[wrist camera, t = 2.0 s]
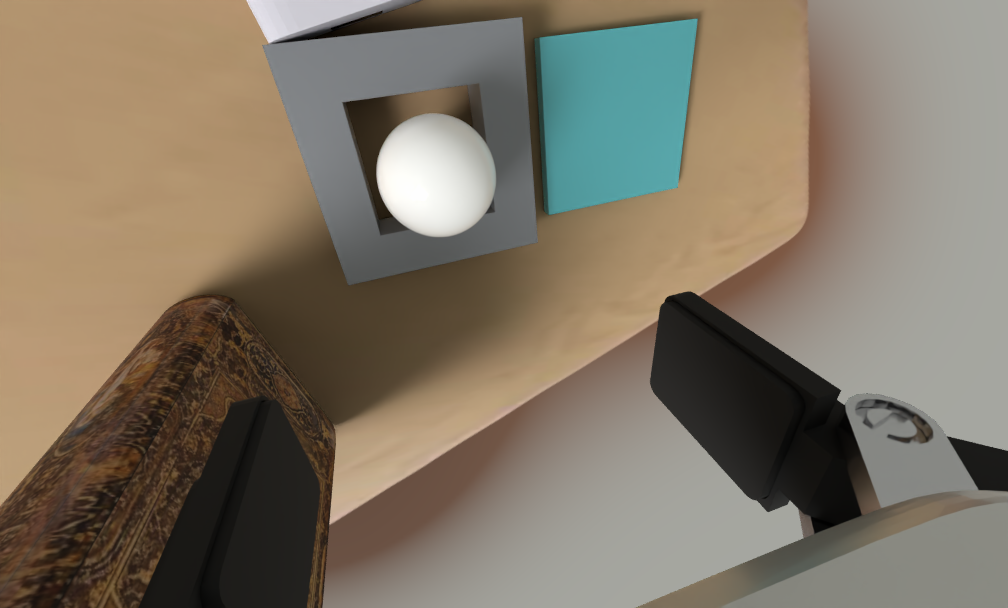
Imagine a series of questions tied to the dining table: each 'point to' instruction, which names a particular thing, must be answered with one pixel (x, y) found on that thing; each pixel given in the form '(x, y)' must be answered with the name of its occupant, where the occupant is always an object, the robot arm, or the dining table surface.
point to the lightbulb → (436, 175)
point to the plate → (612, 112)
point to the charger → (313, 16)
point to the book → (148, 462)
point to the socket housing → (399, 70)
